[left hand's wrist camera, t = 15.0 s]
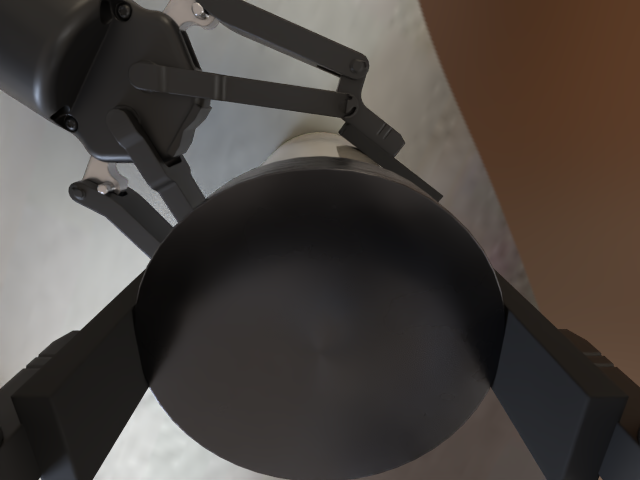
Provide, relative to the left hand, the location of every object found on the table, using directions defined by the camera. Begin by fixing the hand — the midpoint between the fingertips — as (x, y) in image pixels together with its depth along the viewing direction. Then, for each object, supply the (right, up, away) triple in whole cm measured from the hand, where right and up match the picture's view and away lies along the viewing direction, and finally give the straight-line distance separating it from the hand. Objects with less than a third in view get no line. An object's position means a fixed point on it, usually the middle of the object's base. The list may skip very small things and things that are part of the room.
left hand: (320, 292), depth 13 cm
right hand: (+4, +1, +9) cm, 10 cm away
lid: (0, -1, -3) cm, 3 cm away
